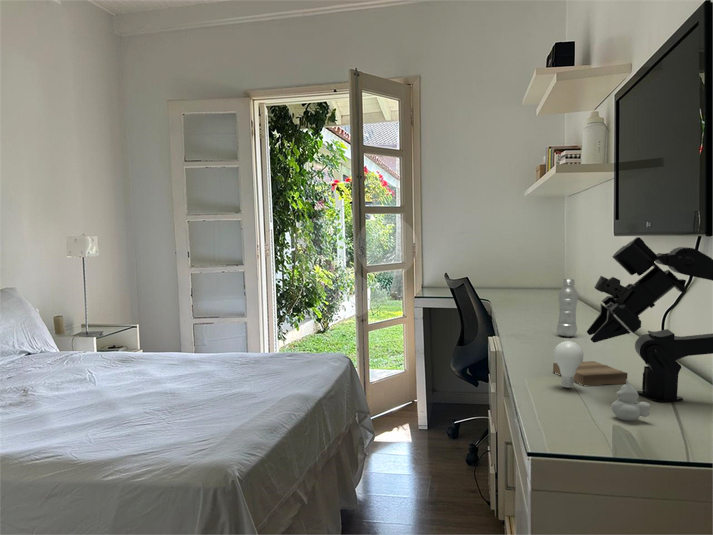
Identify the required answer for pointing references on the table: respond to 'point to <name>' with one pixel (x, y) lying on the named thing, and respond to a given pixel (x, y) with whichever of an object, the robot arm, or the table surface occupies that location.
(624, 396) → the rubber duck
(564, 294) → the plastic bottle
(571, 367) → the lightbulb
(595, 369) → the walnut plinth
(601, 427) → the table surface
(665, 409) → the table surface
